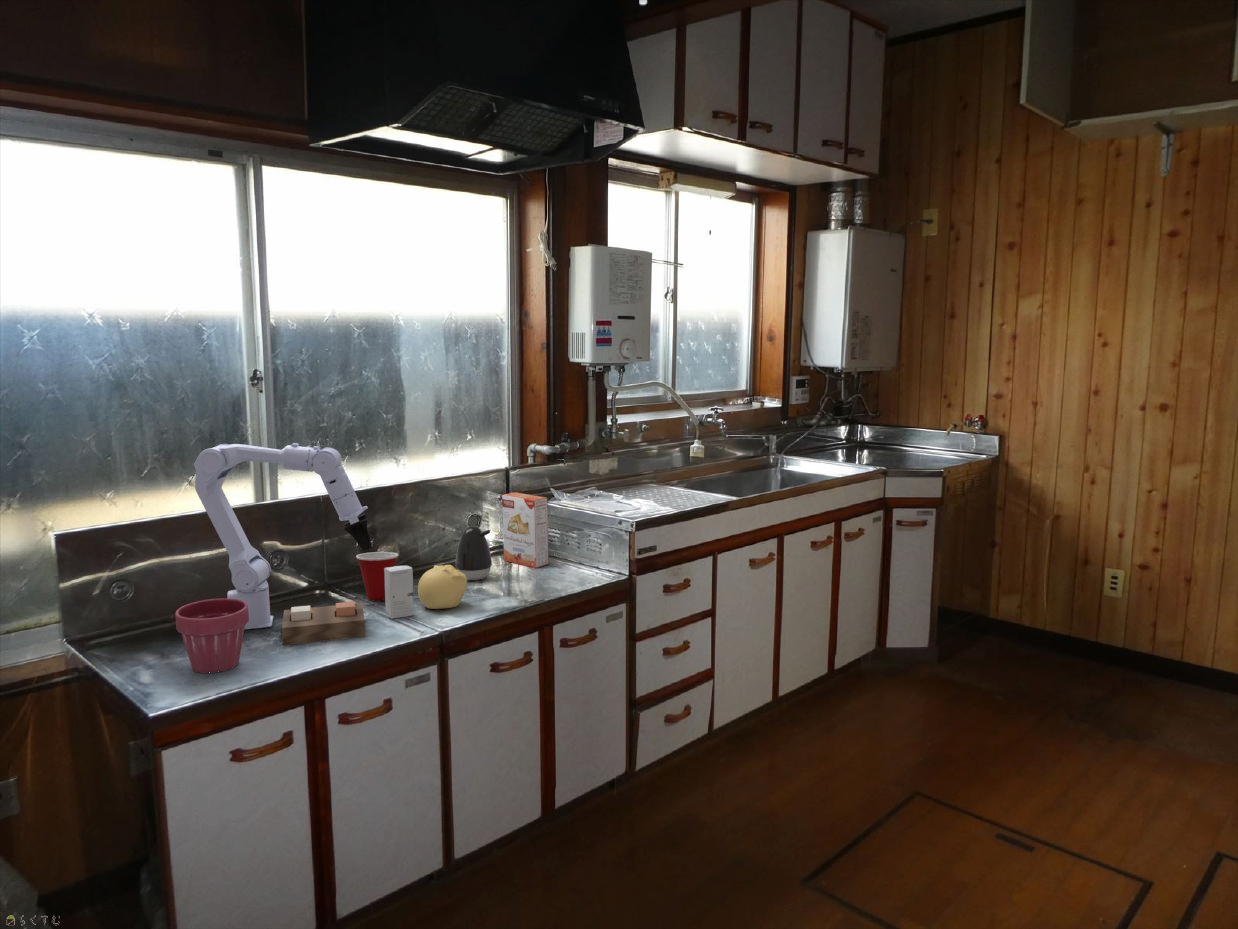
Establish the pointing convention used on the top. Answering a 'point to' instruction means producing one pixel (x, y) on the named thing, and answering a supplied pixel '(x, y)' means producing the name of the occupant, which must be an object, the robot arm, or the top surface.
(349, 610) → the terracotta key
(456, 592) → the sculpture
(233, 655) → the plant pot
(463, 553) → the pump dispenser
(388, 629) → the top surface
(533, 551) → the cracker box
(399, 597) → the skincare box
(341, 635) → the walnut panel
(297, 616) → the cream key
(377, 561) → the plastic cup
